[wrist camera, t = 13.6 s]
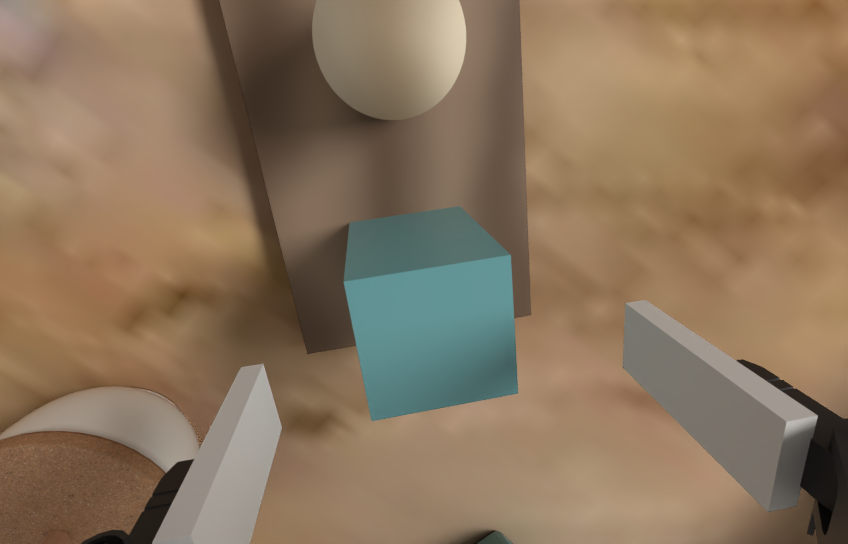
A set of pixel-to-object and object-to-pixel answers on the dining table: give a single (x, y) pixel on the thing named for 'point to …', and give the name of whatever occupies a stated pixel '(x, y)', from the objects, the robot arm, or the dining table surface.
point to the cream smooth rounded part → (389, 53)
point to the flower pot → (495, 539)
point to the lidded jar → (88, 463)
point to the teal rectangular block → (430, 311)
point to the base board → (378, 151)
